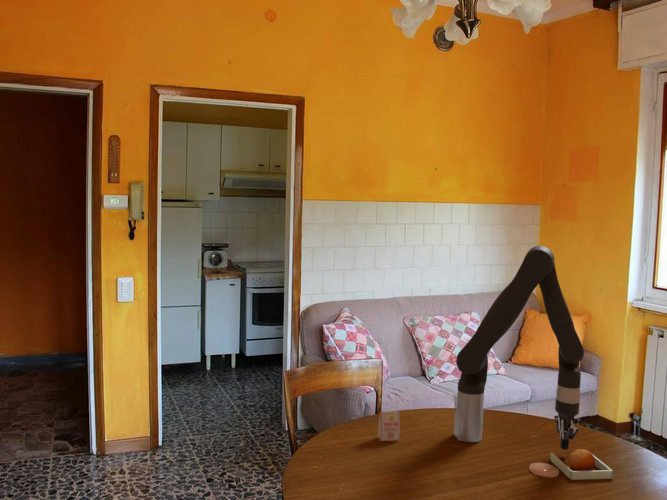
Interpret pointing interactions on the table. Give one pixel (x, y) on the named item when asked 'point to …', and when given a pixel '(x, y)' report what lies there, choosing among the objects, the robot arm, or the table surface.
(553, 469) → the pink shiny oval part
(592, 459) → the fruit
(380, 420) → the tea bag
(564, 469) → the pale gray u-shaped frame
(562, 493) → the table surface
